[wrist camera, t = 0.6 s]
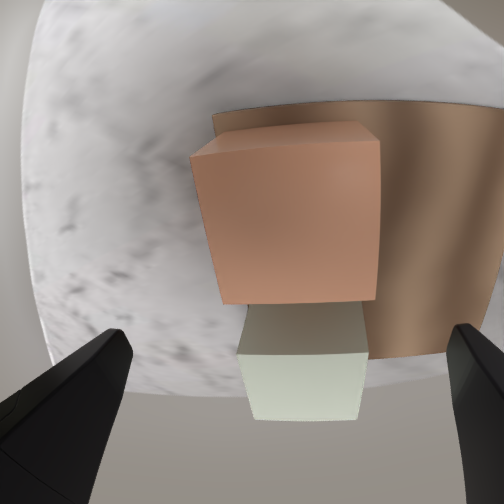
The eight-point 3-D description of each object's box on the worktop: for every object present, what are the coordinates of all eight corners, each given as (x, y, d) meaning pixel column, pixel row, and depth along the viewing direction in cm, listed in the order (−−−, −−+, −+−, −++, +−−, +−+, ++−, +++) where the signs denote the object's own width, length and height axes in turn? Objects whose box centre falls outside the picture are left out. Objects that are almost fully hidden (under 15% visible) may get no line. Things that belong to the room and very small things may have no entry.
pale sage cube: (359, 289, 20) (368, 352, 15) (353, 360, 24) (357, 419, 19) (252, 292, 22) (236, 354, 17) (265, 361, 25) (254, 419, 20)
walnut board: (511, 110, 13) (520, 113, 12) (468, 340, 22) (472, 348, 21) (216, 113, 17) (212, 115, 16) (260, 352, 26) (259, 361, 25)
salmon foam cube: (357, 120, 15) (379, 140, 10) (360, 241, 18) (375, 300, 14) (224, 132, 16) (189, 156, 12) (244, 246, 20) (223, 304, 15)
